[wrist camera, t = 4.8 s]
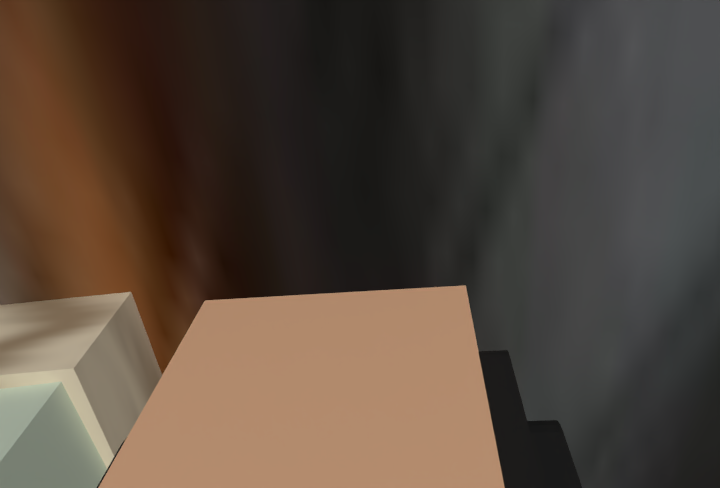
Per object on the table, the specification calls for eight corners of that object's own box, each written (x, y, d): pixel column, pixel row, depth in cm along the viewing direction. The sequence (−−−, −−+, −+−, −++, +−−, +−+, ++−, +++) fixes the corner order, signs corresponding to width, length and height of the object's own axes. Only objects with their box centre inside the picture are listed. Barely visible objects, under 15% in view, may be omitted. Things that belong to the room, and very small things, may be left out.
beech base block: (132, 290, 23) (73, 368, 18) (178, 415, 26) (138, 508, 21) (-25, 306, 23) (-120, 386, 19) (39, 426, 26) (-30, 519, 22)
